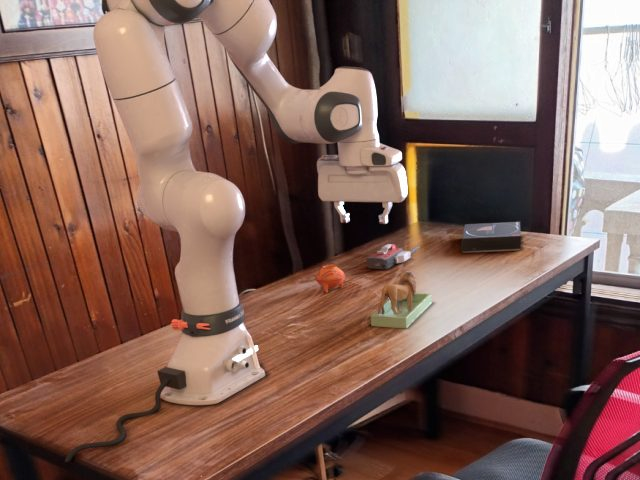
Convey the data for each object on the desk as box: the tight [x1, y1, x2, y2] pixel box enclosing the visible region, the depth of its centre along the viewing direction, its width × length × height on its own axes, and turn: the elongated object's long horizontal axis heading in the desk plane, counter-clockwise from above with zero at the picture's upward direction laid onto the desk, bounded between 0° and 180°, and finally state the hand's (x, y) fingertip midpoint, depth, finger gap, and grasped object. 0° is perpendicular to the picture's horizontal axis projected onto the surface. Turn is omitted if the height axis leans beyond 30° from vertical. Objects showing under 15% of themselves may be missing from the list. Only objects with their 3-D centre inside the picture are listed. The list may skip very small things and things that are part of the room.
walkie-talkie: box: [366, 243, 421, 271], centre depth 215 cm, size 9×4×20 cm
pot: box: [314, 264, 346, 293], centre depth 197 cm, size 8×8×7 cm
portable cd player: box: [460, 221, 522, 254], centre depth 222 cm, size 16×17×4 cm
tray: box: [370, 292, 433, 329], centre depth 177 cm, size 17×9×2 cm, turn 157°
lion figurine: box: [377, 270, 417, 315], centre depth 173 cm, size 15×5×9 cm, turn 154°
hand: (364, 222), depth 167 cm, fingers open, 8 cm apart
